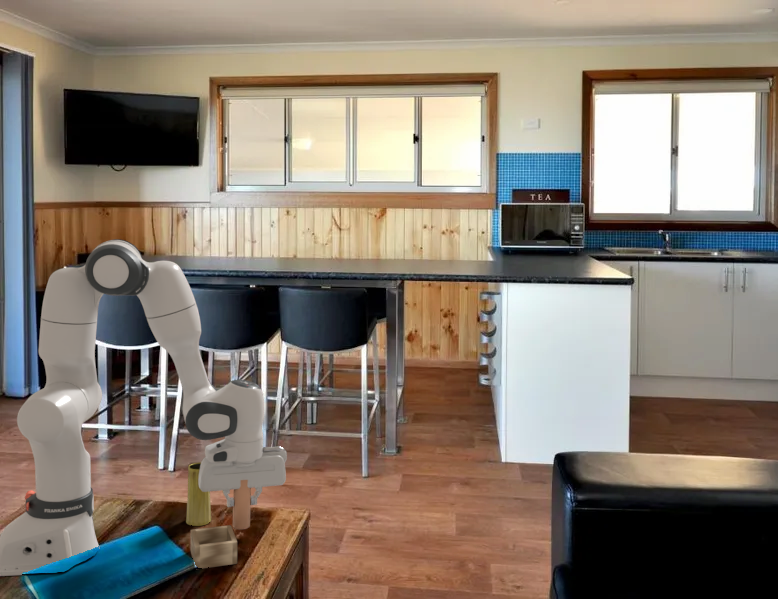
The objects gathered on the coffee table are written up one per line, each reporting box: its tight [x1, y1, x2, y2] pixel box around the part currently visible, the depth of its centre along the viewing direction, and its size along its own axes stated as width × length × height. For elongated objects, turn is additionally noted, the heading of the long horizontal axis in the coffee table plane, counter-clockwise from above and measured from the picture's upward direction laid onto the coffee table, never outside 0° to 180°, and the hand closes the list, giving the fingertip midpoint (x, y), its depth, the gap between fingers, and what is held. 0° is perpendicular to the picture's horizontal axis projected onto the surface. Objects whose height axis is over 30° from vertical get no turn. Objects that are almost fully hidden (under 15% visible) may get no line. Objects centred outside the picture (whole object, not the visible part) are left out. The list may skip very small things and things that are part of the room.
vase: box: [185, 462, 212, 527], centre depth 178 cm, size 6×6×14 cm
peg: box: [232, 480, 252, 530], centre depth 170 cm, size 4×4×12 cm
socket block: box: [190, 524, 238, 569], centre depth 160 cm, size 9×9×5 cm
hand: (241, 505), depth 170 cm, fingers closed on peg, 4 cm apart
